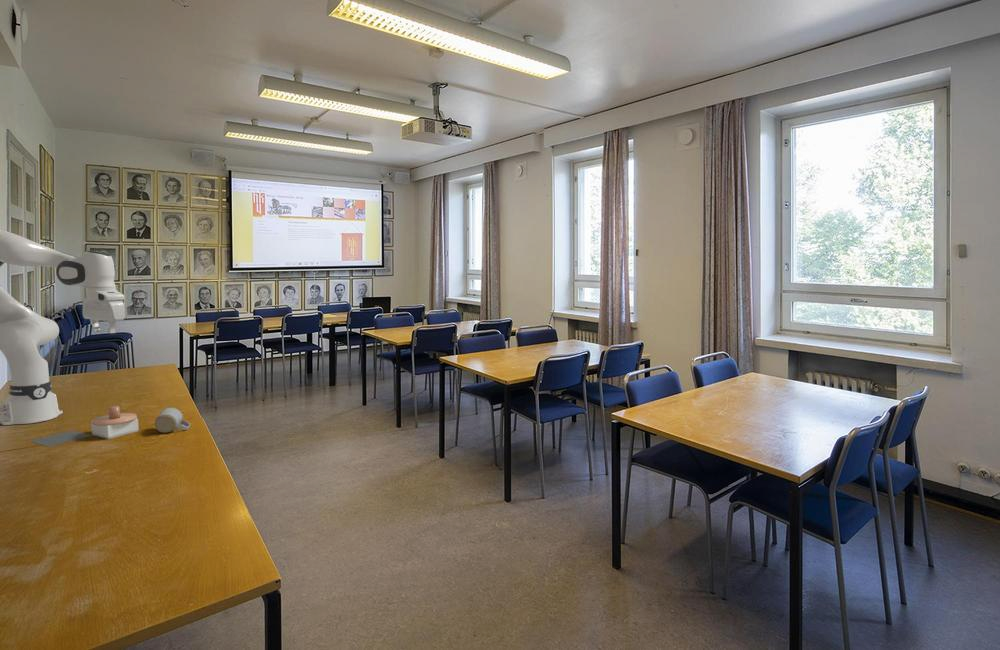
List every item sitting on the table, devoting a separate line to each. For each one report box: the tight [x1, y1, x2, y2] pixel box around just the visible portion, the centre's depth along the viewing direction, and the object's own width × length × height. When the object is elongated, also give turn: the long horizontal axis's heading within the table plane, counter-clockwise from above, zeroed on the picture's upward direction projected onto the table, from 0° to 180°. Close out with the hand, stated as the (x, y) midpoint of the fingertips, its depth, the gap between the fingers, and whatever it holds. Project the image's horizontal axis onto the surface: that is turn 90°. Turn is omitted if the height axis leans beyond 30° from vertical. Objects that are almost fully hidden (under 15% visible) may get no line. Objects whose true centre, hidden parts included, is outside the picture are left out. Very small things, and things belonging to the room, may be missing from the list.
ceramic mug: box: [154, 407, 191, 434], centre depth 195 cm, size 11×8×8 cm
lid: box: [91, 405, 138, 426], centre depth 189 cm, size 13×13×5 cm
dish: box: [90, 417, 140, 440], centre depth 190 cm, size 10×10×5 cm
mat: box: [28, 430, 93, 448], centre depth 184 cm, size 13×13×1 cm
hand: (104, 332), depth 198 cm, fingers open, 8 cm apart
